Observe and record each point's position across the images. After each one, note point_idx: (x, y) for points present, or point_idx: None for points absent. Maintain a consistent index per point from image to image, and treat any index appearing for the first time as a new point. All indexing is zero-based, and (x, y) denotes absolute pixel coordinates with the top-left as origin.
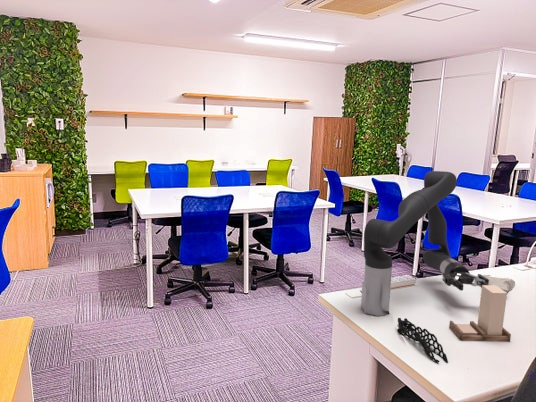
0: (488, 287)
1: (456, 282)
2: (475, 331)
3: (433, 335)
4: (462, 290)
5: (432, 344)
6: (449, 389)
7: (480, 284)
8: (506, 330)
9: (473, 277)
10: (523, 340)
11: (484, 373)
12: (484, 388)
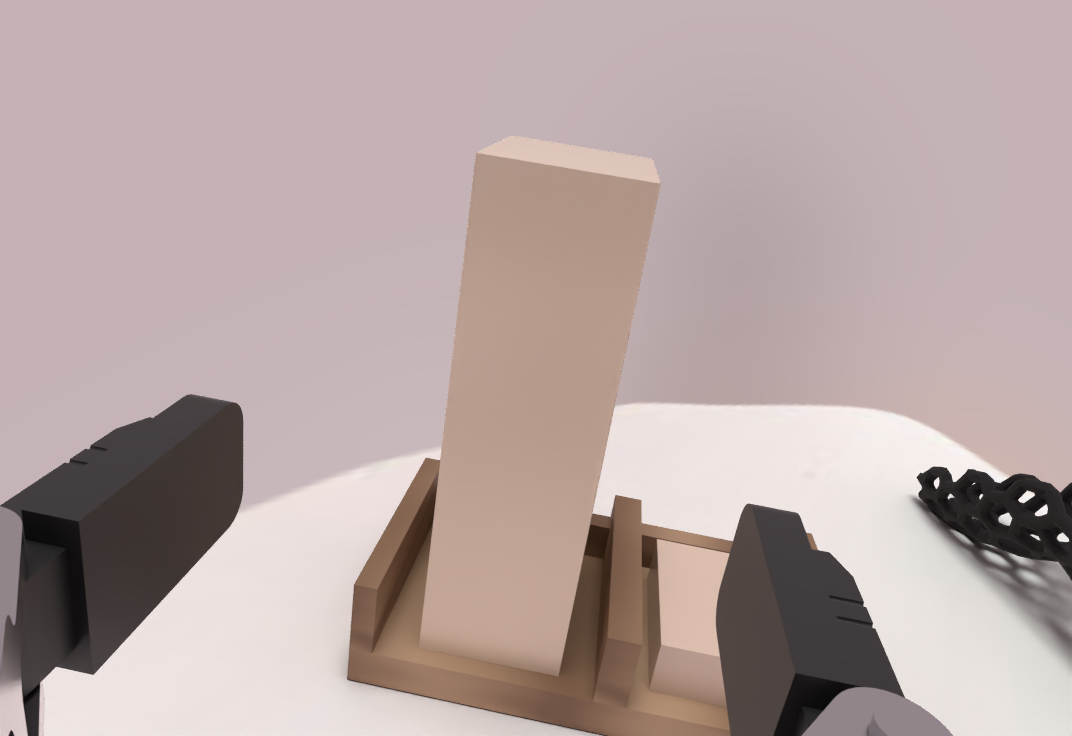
0: (614, 168)
1: (863, 673)
2: (664, 554)
3: (1046, 483)
4: (719, 612)
5: (1023, 532)
6: (915, 432)
7: (29, 669)
8: (409, 488)
9: (5, 732)
10: (238, 549)
11: (740, 444)
12: (778, 410)
